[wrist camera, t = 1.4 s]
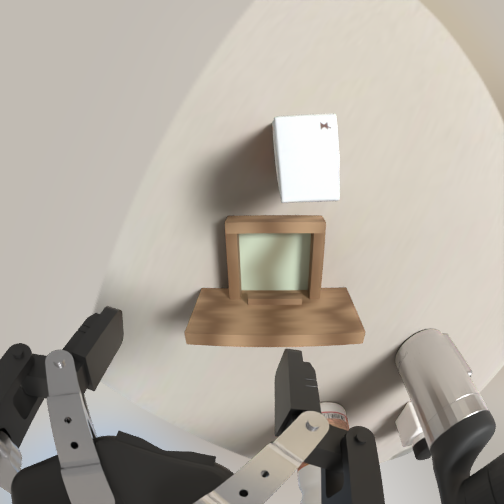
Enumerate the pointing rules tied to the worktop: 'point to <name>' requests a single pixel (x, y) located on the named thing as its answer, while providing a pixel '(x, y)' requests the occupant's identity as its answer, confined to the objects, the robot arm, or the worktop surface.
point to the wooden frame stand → (274, 289)
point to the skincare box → (307, 157)
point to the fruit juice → (312, 474)
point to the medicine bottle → (412, 432)
